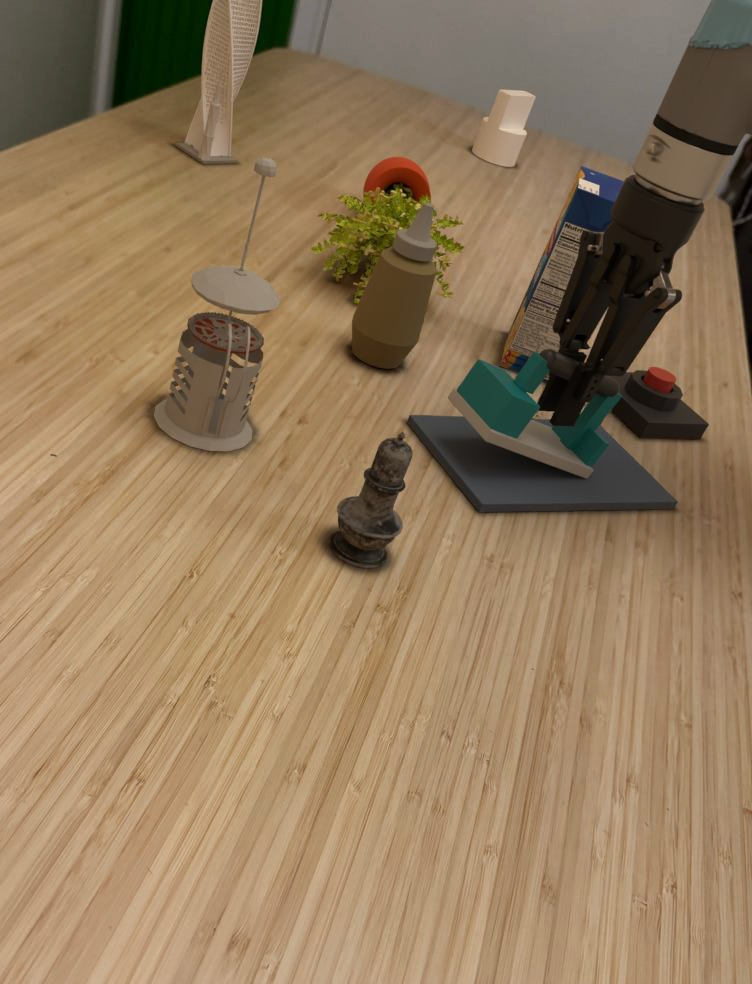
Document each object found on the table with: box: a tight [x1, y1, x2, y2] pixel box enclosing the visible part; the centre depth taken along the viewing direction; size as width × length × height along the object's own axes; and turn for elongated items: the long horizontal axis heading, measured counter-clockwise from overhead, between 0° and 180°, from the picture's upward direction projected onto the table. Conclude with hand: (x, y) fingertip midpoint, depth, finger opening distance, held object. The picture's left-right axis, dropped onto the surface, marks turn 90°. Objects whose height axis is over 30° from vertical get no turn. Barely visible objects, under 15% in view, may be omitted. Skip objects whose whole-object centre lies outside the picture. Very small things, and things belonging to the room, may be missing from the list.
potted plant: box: [310, 156, 465, 304], centre depth 143 cm, size 19×14×45 cm
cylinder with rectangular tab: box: [471, 89, 537, 168], centre depth 202 cm, size 9×9×12 cm
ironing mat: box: [406, 414, 679, 513], centre depth 112 cm, size 16×26×1 cm, turn 112°
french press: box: [153, 156, 281, 452], centre depth 92 cm, size 10×12×25 cm
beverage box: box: [500, 165, 625, 384], centre depth 126 cm, size 7×11×22 cm, turn 164°
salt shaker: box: [328, 431, 414, 569], centre depth 87 cm, size 6×6×12 cm
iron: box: [447, 349, 622, 479], centre depth 105 cm, size 16×8×10 cm, turn 112°
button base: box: [595, 369, 710, 440], centre depth 129 cm, size 12×10×4 cm
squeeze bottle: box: [351, 202, 438, 370], centre depth 116 cm, size 8×8×18 cm
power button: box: [642, 366, 678, 393], centre depth 127 cm, size 4×4×2 cm
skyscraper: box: [174, 0, 263, 165], centre depth 153 cm, size 8×8×28 cm
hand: (554, 416), depth 107 cm, fingers closed on iron, 2 cm apart
